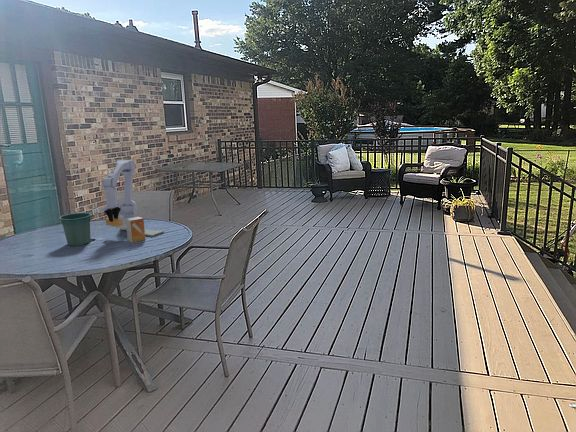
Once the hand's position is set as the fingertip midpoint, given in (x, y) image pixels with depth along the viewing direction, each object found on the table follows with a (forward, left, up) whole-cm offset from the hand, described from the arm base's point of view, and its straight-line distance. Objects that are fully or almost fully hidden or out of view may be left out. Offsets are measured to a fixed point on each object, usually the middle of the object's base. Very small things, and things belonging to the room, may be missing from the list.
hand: (113, 220), depth 259 cm
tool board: (+10, +14, -10) cm, 20 cm away
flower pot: (-12, -16, -11) cm, 22 cm away
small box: (+16, 0, -11) cm, 19 cm away
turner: (+3, 0, -3) cm, 4 cm away
